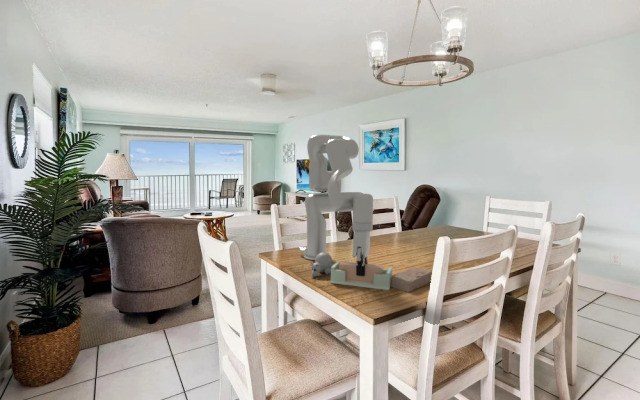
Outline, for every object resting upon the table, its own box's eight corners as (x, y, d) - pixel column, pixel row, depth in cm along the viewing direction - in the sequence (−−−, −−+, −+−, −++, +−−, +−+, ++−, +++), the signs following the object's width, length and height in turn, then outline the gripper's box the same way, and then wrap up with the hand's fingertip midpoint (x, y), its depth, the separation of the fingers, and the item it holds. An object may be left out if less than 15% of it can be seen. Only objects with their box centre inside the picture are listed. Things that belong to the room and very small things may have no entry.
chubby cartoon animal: (307, 280, 136) (301, 263, 133) (325, 264, 144) (320, 247, 141) (320, 284, 131) (314, 266, 128) (338, 267, 139) (333, 250, 136)
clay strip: (338, 279, 126) (339, 264, 126) (341, 276, 130) (341, 261, 130) (380, 284, 121) (381, 268, 121) (382, 280, 125) (382, 265, 125)
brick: (409, 293, 116) (409, 280, 116) (389, 286, 122) (389, 274, 122) (432, 282, 127) (432, 270, 127) (413, 277, 133) (413, 266, 133)
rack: (330, 282, 125) (330, 267, 125) (337, 275, 134) (337, 261, 133) (388, 290, 118) (389, 273, 118) (392, 282, 126) (392, 266, 126)
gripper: (357, 222, 133) (357, 267, 135) (347, 229, 117) (346, 279, 119) (376, 223, 131) (375, 268, 132) (368, 230, 115) (367, 281, 116)
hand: (361, 273), depth 125 cm, fingers closed on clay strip, 4 cm apart
